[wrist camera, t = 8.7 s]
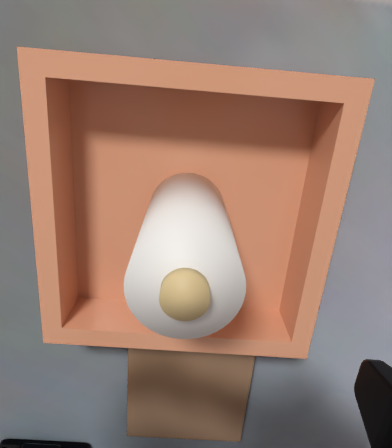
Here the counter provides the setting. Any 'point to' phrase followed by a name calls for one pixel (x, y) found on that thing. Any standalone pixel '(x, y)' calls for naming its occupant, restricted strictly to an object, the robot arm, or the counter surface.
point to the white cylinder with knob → (185, 262)
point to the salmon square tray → (185, 163)
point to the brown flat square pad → (187, 394)
